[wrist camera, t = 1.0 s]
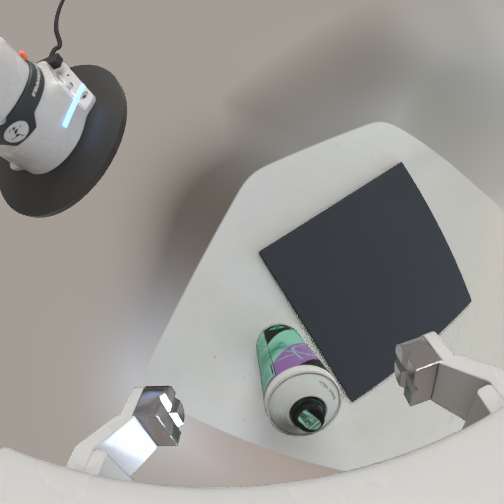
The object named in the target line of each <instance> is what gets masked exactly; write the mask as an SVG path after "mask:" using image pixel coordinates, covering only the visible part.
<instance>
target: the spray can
mask: <svg viewBox="0 0 504 504" xmlns="http://www.w3.org/2000/svg"><path fill="white" fill-rule="evenodd" d="M257 353H258V361H259V368H260V376H261V384H262V391H263V399H264V406H265V411H266V414H267V416H268V418H269V420H270V422H271V423H272V425H273V426H274V427H275V428H276V429H277V430H279V431H281V432H282V433H285V434H287V435H292V436H307V435H311V434H314V433H317V432H319V431H321V430H323V429H324V428H326V427H327V426H328V425H330V423H331V422H332V421H333V420H334V419H335V418H336V416H337V415H338V412H339V410H340V407H341V402H342V396H341V392H340V389H339V386H338V384H337V382H336V380H335V379H334V377H333V376H332V375H331V374H330V373H329V371H328V370H327V369H326V368H325V366H324V365H323V364H322V363H321V361H320V360H319V359H318V358H317V356H316V355H315V354H314V353H313V351H312V350H311V349H310V348H309V347H308V345H307V344H306V343H305V342H304V340H303V339H302V338H301V337H300V335H299V334H298V333H297V332H296V330H295V329H293V328H292V327H290V326H288V325H286V324H273V325H270V326H268V327H266V328H265V329H264V330H263V331H262V332H261V333H260V335H259V337H258V340H257Z"/></svg>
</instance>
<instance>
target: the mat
mask: <svg viewBox="0 0 504 504" xmlns="http://www.w3.org/2000/svg"><path fill="white" fill-rule="evenodd" d="M259 253H260V255H261V256H262V258H263V259H264V261H265V263H266V264H267V266H268V267H269V269H270V271H271V272H272V274H273V275H274V277H275V278H276V280H277V282H278V283H279V285H280V286H281V288H282V290H283V291H284V293H285V294H286V296H287V298H288V299H289V301H290V302H291V304H292V306H293V307H294V309H295V310H296V312H297V314H298V315H299V317H300V318H301V320H302V322H303V323H304V325H305V326H306V328H307V330H308V331H309V333H310V334H311V336H312V338H313V339H314V341H315V342H316V344H317V346H318V347H319V349H320V350H321V352H322V354H323V355H324V357H325V359H326V360H327V362H328V363H329V365H330V367H331V368H332V370H333V371H334V373H335V375H336V376H337V378H338V379H339V381H340V383H341V384H342V386H343V388H344V389H345V391H346V392H347V394H348V396H349V397H350V399H351V401H352V402H353V401H354V400H356V399H357V398H359V397H360V396H362V395H363V394H364V393H366V392H367V391H369V390H370V389H371V388H373V387H374V386H376V385H377V384H378V383H380V382H381V381H382V380H384V379H385V378H386V377H388V376H389V375H390V374H392V373H393V372H394V371H395V370H394V365H395V361H396V359H397V358H398V357H397V355H396V353H395V349H396V345H397V344H398V343H401V342H404V341H407V340H410V339H413V338H416V337H419V336H421V335H424V334H427V333H429V332H432V331H434V332H436V333H437V335H438V334H439V333H440V332H441V331H442V330H443V329H444V328H445V327H446V326H447V325H448V324H449V323H450V322H451V321H452V320H453V319H454V318H455V317H456V316H457V315H458V314H459V313H460V312H461V311H462V310H463V309H464V308H465V307H466V306H467V305H468V304H469V303H470V302H471V298H470V295H469V293H468V290H467V287H466V285H465V282H464V280H463V278H462V275H461V273H460V270H459V268H458V266H457V263H456V261H455V259H454V257H453V255H452V252H451V250H450V248H449V246H448V244H447V242H446V240H445V238H444V236H443V234H442V232H441V230H440V228H439V226H438V224H437V222H436V220H435V218H434V216H433V214H432V212H431V211H430V209H429V207H428V205H427V203H426V201H425V200H424V198H423V196H422V194H421V193H420V191H419V189H418V188H417V186H416V184H415V183H414V181H413V179H412V178H411V176H410V174H409V173H408V171H407V170H406V168H405V166H404V165H403V163H402V162H400V163H399V164H397V165H396V166H394V167H393V168H391V169H389V170H388V171H386V172H385V173H383V174H382V175H380V176H378V177H377V178H375V179H374V180H372V181H371V182H369V183H367V184H366V185H364V186H363V187H361V188H360V189H358V190H356V191H355V192H353V193H352V194H350V195H348V196H347V197H345V198H344V199H342V200H341V201H339V202H337V203H336V204H334V205H333V206H331V207H329V208H328V209H326V210H325V211H323V212H322V213H320V214H318V215H317V216H315V217H314V218H312V219H310V220H309V221H307V222H306V223H304V224H303V225H301V226H299V227H298V228H296V229H295V230H293V231H291V232H290V233H288V234H287V235H285V236H283V237H282V238H280V239H279V240H277V241H276V242H274V243H272V244H271V245H269V246H268V247H266V248H264V249H263V250H261V251H260V252H259Z"/></svg>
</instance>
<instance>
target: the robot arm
mask: <svg viewBox="0 0 504 504" xmlns="http://www.w3.org/2000/svg"><path fill="white" fill-rule="evenodd" d="M64 1H65V0H61V2H60V4H59V6H58V9H57V12H56V15H55V21H54V32H55V36H56V39H57V42H58V46H55V47H54V48H53V49H52V51H51V53H50V55H49V57H48V58H45V59H43V60H41V61H39V62H37V63H36V64H35V63H33V62H30V61H28V60H27V58H28V57H27V55H26V53H25V52H24V51H23V50H21V51H20V52H19V53H16V52H15V51H14V49H13V48H12V47H11V46H10V45H9V44H8V43H6V42H5V40H4V39H3V38H1V37H0V156H1V157H3V158H5V159H6V160H8V161H9V162H10V167H11V169H13V170H14V171H21V170H26V171H28V172H30V173H32V174H44V173H47V172H49V171H51V170H53V169H54V168H56V167H57V166H59V165H60V164H61V163H62V162H63V161H64V160H65V159H66V158H67V157H68V156H69V155H70V153H71V152H72V151H73V149H74V148H75V146H76V144H77V143H78V141H79V139H80V137H81V134H82V132H83V129H84V125H85V121H86V118H87V115H88V113H89V112H90V110H91V109H92V107H93V105H94V104H95V101H96V97H95V96H94V95H93V94H92V92H91V91H90V90H89V89H88V88H87V87H86V86H85V85H84V84H83V82H82V81H81V80H80V79H79V78H78V77H77V76H76V75H75V74H74V72H73V71H72V70H71V69H70V68H69V67H68V66H67V65H66V64H65V63H62V61H63V59H62V57H61V56H60V55H59V54H58V53H57V54H55V52H56V51H57V50H59V49H60V48H61V46H62V40H61V37H60V34H59V30H58V20H59V14H60V11H61V8H62V5H63V3H64ZM85 97H86V98H85ZM395 353H396V355H397V357H398V358H397V359H396V361H395V365H394V370H395V376H396V379H397V382H398V384H399V386H401V387H404V396H405V397H406V399H407V401H408V403H409V405H410V406H413V405H416V404H419V403H422V402H424V401H427V400H430V399H431V400H432V401H433V402H435V403H437V404H438V405H440V406H442V407H443V408H445V409H447V410H448V411H450V412H452V413H453V414H455V415H457V416H458V417H460V418H462V419H463V420H465V424H464V426H463V428H462V430H460V431H458V432H455V433H453V434H451V435H449V436H447V437H445V438H443V439H440V440H438V441H436V442H433V443H431V444H429V445H426V446H424V447H421V448H419V449H416V450H414V451H411V452H408V453H405V454H403V455H400V456H397V457H394V458H391V459H388V460H385V461H382V462H378V463H375V464H372V465H368V466H365V467H361V468H357V469H353V470H349V471H345V472H341V473H337V474H332V475H328V476H322V477H317V478H312V479H306V480H299V481H293V482H285V483H277V484H268V485H256V486H240V487H186V486H168V485H158V484H149V483H140V482H136V481H134V480H133V479H132V478H131V477H130V476H131V475H132V474H133V473H134V472H135V471H136V470H137V469H138V468H139V467H140V466H141V465H142V464H143V462H144V461H145V460H146V459H147V458H148V457H149V456H150V455H151V454H152V453H153V452H154V450H155V449H156V448H157V447H158V446H178V442H179V438H180V434H181V432H180V430H179V429H178V428H179V427H180V426H181V425H182V424H183V421H184V409H183V405H182V404H181V402H180V401H179V400H178V399H176V398H175V391H174V389H173V388H172V387H171V386H146V387H134V388H133V389H132V391H131V393H130V395H129V397H128V400H127V402H126V404H125V406H124V408H123V410H122V412H121V415H120V416H116V417H114V418H113V419H112V420H110V421H109V422H108V423H106V424H105V425H104V426H102V427H101V428H99V429H98V430H97V431H95V432H94V433H93V434H91V435H90V436H88V437H87V438H86V439H84V440H83V441H82V442H80V443H79V444H77V445H76V447H75V449H74V451H73V453H72V455H71V457H70V459H69V461H68V463H67V465H66V467H63V466H60V465H57V464H54V463H50V462H47V461H44V460H41V459H38V458H35V457H33V456H30V455H27V454H25V453H22V452H20V451H17V450H15V449H12V448H9V447H3V448H1V449H0V504H504V370H503V369H499V368H496V367H493V366H490V365H487V364H484V363H481V362H478V361H475V360H472V359H470V358H467V357H464V356H461V355H456V356H455V355H454V354H453V353H452V351H451V350H450V349H449V348H448V347H447V345H446V344H445V343H444V342H443V341H442V339H441V338H440V337H439V336H438V335H437V333H436V332H434V331H432V332H429V333H427V334H424V335H421V336H419V337H416V338H413V339H410V340H407V341H404V342H401V343H398V344H397V345H396V349H395Z"/></svg>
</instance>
